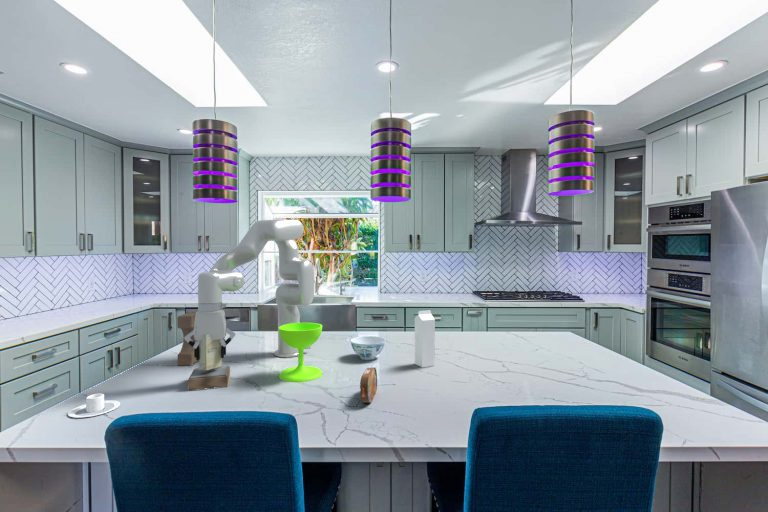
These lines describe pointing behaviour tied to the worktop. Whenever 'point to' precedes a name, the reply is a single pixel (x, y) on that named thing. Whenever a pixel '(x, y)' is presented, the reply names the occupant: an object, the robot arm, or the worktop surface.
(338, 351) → the worktop surface
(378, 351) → the chinaware
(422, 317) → the milk
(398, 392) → the worktop surface
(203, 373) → the plinth
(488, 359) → the worktop surface
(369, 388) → the tin
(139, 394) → the worktop surface
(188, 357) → the decorative block
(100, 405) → the candle holder
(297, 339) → the wineglass
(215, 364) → the skincare box
